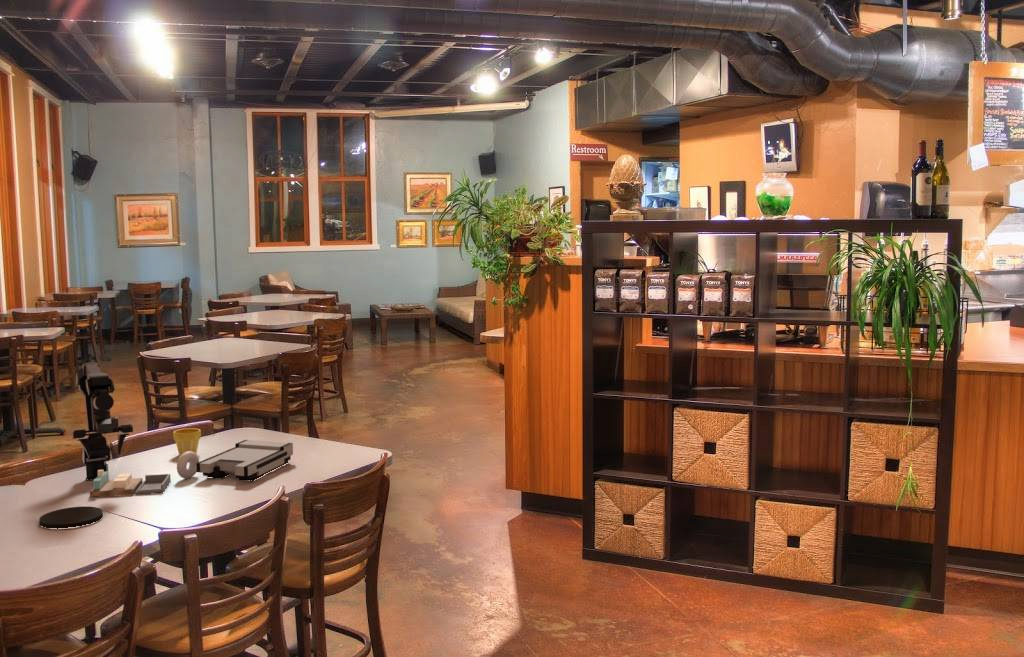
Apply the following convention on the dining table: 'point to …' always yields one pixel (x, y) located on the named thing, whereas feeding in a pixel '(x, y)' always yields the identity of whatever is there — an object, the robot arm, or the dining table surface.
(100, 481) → the long mint beam
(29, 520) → the dining table surface
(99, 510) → the wireless charger
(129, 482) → the tile
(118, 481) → the tile
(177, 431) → the plant pot
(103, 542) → the dining table surface
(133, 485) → the walnut board
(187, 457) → the donut
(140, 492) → the box
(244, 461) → the game console
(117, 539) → the dining table surface
